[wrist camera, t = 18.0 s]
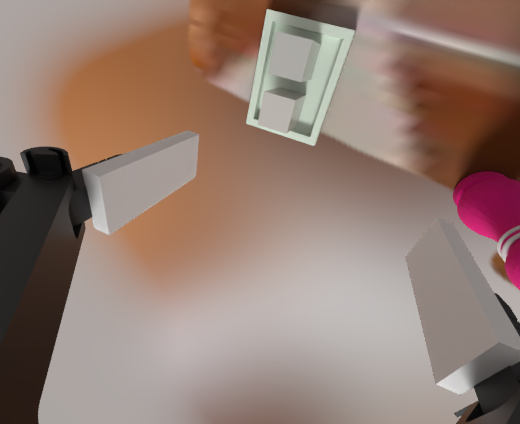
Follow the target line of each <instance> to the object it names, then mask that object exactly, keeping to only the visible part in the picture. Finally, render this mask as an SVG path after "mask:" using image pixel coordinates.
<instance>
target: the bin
mask: <svg viewBox="0 0 520 424" xmlns="http://www.w3.org/2000/svg"><path fill="white" fill-rule="evenodd" d="M277 31H278V32H282V33H286V34H290V35H294V36H298V37H302V38H306V39H310V40H313V41H315V42H317V43H319V44H321V47H320V51H319V54H318V58H317V61H316V65H315V68H314V71H313V75H312V78H311V80H308V81H304V82H298V81H294V80H291V79H287V78H283V77H280V76H276V75H273V74H269V73H268V72H269V67H270V62H271V57H272V52H273V47H274V42H275V37H276V32H277ZM354 35H355V30H351V29H347V28H342V27H338V26H334V25H330V24H326V23H322V22H318V21H314V20H310V19H306V18H302V17H297V16H293V15H289V14H285V13H281V12H277V11H273V10H269V9H267V12H266V17H265V23H264V28H263V34H262V39H261V45H260V50H259V56H258V61H257V67H256V72H255V78H254V83H253V89H252V94H251V100H250V105H249V111H248V116H247V121H246V124H249V125H252V126H255V127H258V128H261V129H264V130H267V131H270V132H273V133H276V134H280V135H282V136H285V137H288V138H292V139H294V140H297V141H301V142H304V143H307V144H310V145H313V146H314V145H315V144H316V142H317V139H318V136H319V133H320V131H321V128H322V125H323V122H324V119H325V117H326V114H327V111H328V108H329V105H330V103H331V100H332V97H333V94H334V91H335V89H336V86H337V83H338V80H339V77H340V75H341V72H342V69H343V66H344V63H345V61H346V58H347V55H348V52H349V49H350V47H351V44H352V41H353V38H354ZM279 87H280V88H284V89H287V90H291V91H294V92H298V93H302V94H305V95H306V97H305V101H304V104H303V108H302V111H301V115H300V118H299V122H298V124H297V125H296V126H295V127H294V128H292V129H291V130H290V131H289V132H288V133H287V134H285V133H282V132H279V131H276V130H273V129H269V128H266V127H263V126H260V125H258V120H259V114H260V109H261V104H262V99H263V94H264V91H267V90H271V89H275V88H279Z"/></svg>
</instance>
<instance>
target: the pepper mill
mask: <svg viewBox="0 0 520 424" xmlns="http://www.w3.org/2000/svg"><path fill="white" fill-rule="evenodd" d="M453 199H454V202H455V204H456V205H457V210H458V215H459V217H460V219H461V220H462V221H463V223H464V224H465V225H466V226H467V227H468V228H470V229H471V230H473V231H475V232H476V233H478V234H480V235H483V236H485V237H488V238H491V239H494V240H495V241H497V242H498V244H497V251H498V253H499V255H500V256H501V257H502V258H503V260H504V262H505V270H506V273H507V275H508V277H509V279H510V280H511V282H512V283H513V284H514V285H515V286H516V287H517V288H518V289H519V290H520V182H519V181H517V180H513V179H509V178H507V177H506V176H504V175H503V174H501V173H498V172H493V171H483V172H477V173H474V174H472V175H469V176H468V177H466V178H464V179H463V180H461V181H460V182H459V183H458V185H457V186H456V188H455V190H454V192H453Z"/></svg>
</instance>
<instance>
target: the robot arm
mask: <svg viewBox="0 0 520 424" xmlns="http://www.w3.org/2000/svg"><path fill="white" fill-rule="evenodd" d="M198 141H199V134H196V133H193V132H191V131H184V132H182V133H179V134H177V135H174V136H171V137H168V138H166V139H163V140H160V141H158V142H155V143H152V144H150V145H147V146H144V147H142V148H139V149H136V150H133V151H131V152H128V153H125V154H120V155H115V156H113V157H110V158H107V160H105V159H104V160H102V161H99V163H98V162H96V163H93V164H90V165H88V166H85V167H82V168H80V169H77V170H74V171H72V168H71V164H70V160H69V156H68V152H67V151H65V150H63V149H60V148H56V147H35V148H30V149H27V150H24V151H23V152H21V153H20V155H21V157H22V160H23V163H24V166H25V169H26V171H27V173H22V172H16V170H15V167H14V165H13V162H12V161H11V160H10V159H8V158H4V157H0V424H39V423H38V408H39V403H40V399H41V395H42V391H43V387H44V384H45V380H46V376H47V372H48V368H49V364H50V361H51V357H52V353H53V350H54V346H55V342H56V338H57V334H58V330H59V327H60V323H61V319H62V315H63V312H64V308H65V304H66V300H67V297H68V293H69V289H70V285H71V281H72V278H73V274H74V270H75V266H76V262H77V259H78V255H79V251H80V247H81V243H82V240H83V236H84V232H85V223H84V221H86V220H88V219H89V218H91V217H92V220H93V225H94V228H95V229H97V230H99V231H101V232H103V233H106V234H108V235H110V234H112V233H113V232H115V231H116V230H118V229H119V228H121V227H122V226H124V225H125V224H127V223H128V222H129V221H131V220H132V219H134V218H136V217H137V216H138V215H140V214H141V213H143V212H144V211H146V210H147V209H149V208H150V207H152V206H153V205H155V204H156V203H158V202H159V201H161V200H162V199H164V198H165V197H167V196H168V195H170V194H171V193H173V192H174V191H176V190H177V189H178V188H180V187H182V186H183V185H185V184H186V183H187V182H189V181H190V180H192V179H193V178H195V177H196V168H197V155H198ZM406 261H407V265H408V270H409V274H410V278H411V282H412V286H413V291H414V295H415V299H416V303H417V307H418V312H419V315H420V320H421V324H422V328H423V333H424V337H425V341H426V345H427V349H428V353H429V358H430V362H431V366H432V370H433V375H434V379H435V383H436V384H437V385H439V386H441V387H443V388H445V389H448V390H450V391H452V392H454V393H456V394H459V395H461V394H463V393H465V392H467V391H468V390H470V389H472V388H474V389H475V392H476V395H477V397H478V400H479V401H477V402H475V403H473V404H471V405H469V406H467V407H465V408H463V409H462V410H459V411H458V412H456V413H454V414H455V415H456V416H457V417H459V416H461V415H462V416H461V418H460V419H459V421H458V422H457V423H456V424H520V323H519V322H517V318H516V316H515V315H514V313H513V312H512V310H511V309H510V307H509V306H508V305H507V304H506V303H505V302H504V301H503V300H502V298H501V297H500V296H499V295H497V294H496V293H494V292H493V291H492V289H491V287H490V286H489V284H488V282H487V280H486V279H485V277H484V275H483V274H482V272H481V270H480V268H479V267H478V265H477V264H476V262H475V260H474V258H473V257H472V255H471V253H470V252H469V250H468V248H467V246H466V245H465V243H464V241H463V240H462V238H461V236H460V235H459V233H458V231H457V230H456V228H455V226H454V224H453V223H450V222H447V221H444V220H442V219H439V218H436V219H435V220H434V222H433V223H432V224H431V225H430V227H429V228H428V229H427V231H426V232H425V233H424V235H423V236H422V237H421V238H420V239H419V241H418V242H417V243H416V245H415V246H414V247H413V248H412V250H411V251H410V252H409V253H408V255H407V256H406Z"/></svg>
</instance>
